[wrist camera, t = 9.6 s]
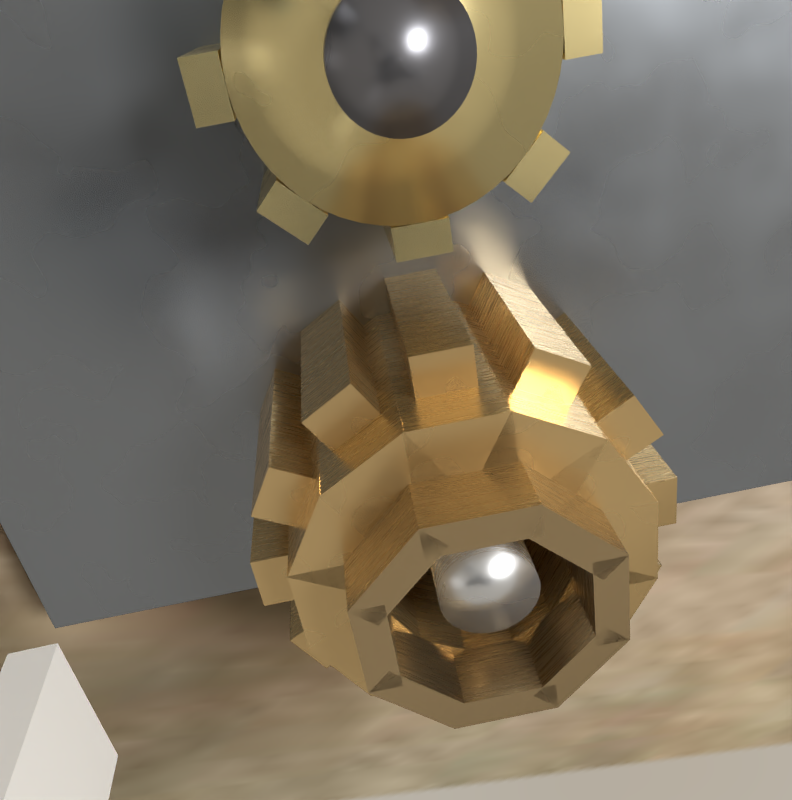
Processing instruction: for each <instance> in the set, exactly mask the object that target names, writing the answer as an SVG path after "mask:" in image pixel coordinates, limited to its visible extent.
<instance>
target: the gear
mask: <svg viewBox="0 0 792 800" xmlns="http://www.w3.org/2000/svg"><path fill="white" fill-rule="evenodd" d="M384 280H385V286H386V291H387V297H388V303H389V308H390V313H388V314H382V315H377V316H374V317H373V318H372V319H371V320H369V321H368V322H367V323H366V324H365V325H362V323H361V322H360V321H359V320H358V319H357V318H356V317H355V316H354V315H353V314H352V313H351V312H350V311H349V309H348V308H347V307H346V306H345V305H344V304H343V303H342V302H341V301H340V300H338V301H337V302H335V303H334V304H333V305H332V306H331V307H329V308H328V309H327V310H326V311H325V312H323V313H322V314H321V315H320V316H319V317H317V318H316V319H315V320H314V321H313V322H311V323H310V324H309V325H308V326H307V327H305V328H304V329H303V330H302V331H301V376H299V375H296V374H292V373H289V372H285V371H282V370H278V369H274V372H273V375H272V378H271V381H270V384H269V387H268V390H267V393H266V396H265V399H264V402H263V405H262V408H261V411H260V422H259V433H258V444H257V455H256V466H255V477H254V488H253V499H252V510H251V517H254V522H253V534H252V546H251V558H250V564H251V567H252V570H253V573H254V576H255V579H256V583H257V586H258V589H259V592H260V595H261V598H262V601H263V604H264V606H267V605H272V604H277V603H282V602H287V601H291V605H290V641H291V642H292V643H294V644H295V645H296V646H298V647H299V648H300V649H302V650H303V651H304V652H306V653H307V654H308V655H310V656H311V657H312V658H314V659H315V660H316V661H318V662H319V663H320V664H322V665H323V666H324V667H326V668H328V667H329V666H332V667H334V668H335V669H336V670H338V671H339V672H340V673H342V674H343V675H344V676H346V677H347V678H348V679H350V680H351V681H352V682H354V683H355V684H356V685H357V686H359V687H360V688H361V689H363V690H364V691H365V692H367V693H368V694H369V695H371V696H377V697H379V698H381V699H384V700H386V701H389V702H391V703H394V704H396V705H398V706H401V707H403V708H406V709H408V710H411V711H413V712H415V713H418V714H420V715H423V716H425V717H428V718H430V719H432V720H435V721H437V722H440V723H442V724H445V725H447V726H449V727H452V728H454V729H456V728H461V727H466V726H471V725H475V724H480V723H485V722H490V721H495V720H500V719H504V718H509V717H514V716H519V715H524V714H529V713H533V712H538V711H543V710H548V709H553V708H558V707H559V706H560V705H561V704H562V703H563V702H564V701H565V700H566V699H568V698H569V697H570V696H571V695H572V694H573V693H574V692H575V691H576V690H577V689H578V688H579V687H580V686H581V685H582V684H583V683H584V682H586V681H587V680H588V679H589V678H590V677H591V676H592V675H593V674H594V673H595V672H596V671H597V670H598V669H599V668H600V667H601V666H603V665H604V664H605V663H606V662H607V661H608V660H609V659H610V658H611V657H612V656H613V655H614V654H615V653H616V652H617V651H618V650H619V649H621V648H622V647H623V646H624V645H625V644H626V643H627V642H628V641H629V640H630V619H631V618H632V616H633V615H634V613H635V612H636V610H637V608H638V607H639V605H640V604H641V602H642V601H643V599H644V598H645V596H646V595H647V593H648V592H649V590H650V589H651V587H652V586H653V584H654V583H655V581H656V580H657V578H658V570H659V569H660V567H661V566H662V565H661V563H660V562H659V560H658V527H659V526H664V525H669V524H674V523H676V507H677V476H676V475H675V474H674V473H673V471H672V470H671V469H670V468H669V466H668V465H667V464H666V462H665V461H664V460H663V459H662V457H661V456H660V455H659V454H658V452H657V451H656V450H655V449H654V447H653V446H652V445H651V443H653V442H654V441H656V440H657V439H659V438H660V437H661V436H663V435H664V434H663V433H662V432H661V430H660V429H659V428H658V426H657V425H656V424H655V422H654V421H653V420H652V418H651V417H650V416H649V414H648V413H647V412H646V410H645V409H644V408H643V406H642V405H641V404H640V402H639V401H638V400H637V398H636V397H635V396H634V394H633V393H632V392H631V391H630V390H629V388H628V387H627V386H626V385H625V384H624V383H623V381H622V380H621V379H620V378H619V377H618V375H617V374H616V373H615V372H614V371H613V369H612V368H611V367H610V366H609V365H608V364H607V362H606V361H605V360H604V359H603V358H602V356H601V355H600V354H599V353H598V352H597V351H596V349H595V348H594V347H593V346H592V345H591V343H590V342H589V341H588V340H587V339H586V337H585V336H584V335H583V334H582V333H581V332H580V330H579V329H578V328H577V327H576V326H575V324H574V323H573V322H572V321H571V320H570V318H569V317H568V316H567V315H566V314H565V313H563V314H562V315H560V316H559V317H558V318H556V319H554V318H553V317H552V315H551V314H550V313H549V312H548V310H547V309H546V308H545V307H544V305H543V304H542V303H541V302H540V300H539V299H538V298H537V297H536V295H535V294H534V293H533V292H532V290H531V289H530V288H529V287H527V286H524V285H521V284H518V283H515V282H512V281H509V280H506V279H504V278H501V277H498V276H495V275H492V274H489V273H486V272H483V274H482V277H481V279H480V281H479V284H478V286H477V288H476V290H475V293H474V295H473V297H472V299H471V302H470V304H469V305H467V304H464V303H461V302H458V301H456V300H454V301H451V299H450V297H449V295H448V293H447V291H446V289H445V287H444V285H443V283H442V281H441V279H440V277H439V275H438V273H437V271H436V269H430V270H425V271H419V272H414V273H409V274H404V275H399V276H393V277H388V278H384ZM519 540H524V542H525V545H526V547H527V550H528V552H529V555H530V557H531V559H532V562H533V564H534V567H535V569H536V571H537V574H538V576H539V579H540V584H541V590H540V596H539V599H538V601H537V603H536V605H535V607H534V608H533V610H532V611H531V612H530V613H529V614H528V615H527V616H526V617H525V618H524V619H522V620H521V621H520V622H518V623H517V624H515V625H513V626H511V627H509V628H507V629H504V630H501V631H497V632H492V633H472V632H467V631H463V630H461V629H458V628H457V627H455V626H453V625H452V624H451V623H449V622H448V621H447V620H446V619H445V617H444V616H443V614H442V612H441V610H440V606H439V602H438V597H437V593H436V589H435V584H434V580H433V576H432V571H431V566H432V565H433V564H434V562H435V561H436V560H437V559H438V558H439V557H440V556H445V555H450V554H455V553H460V552H465V551H470V550H475V549H480V548H485V547H490V546H494V545H499V544H504V543H509V542H514V541H519Z"/></svg>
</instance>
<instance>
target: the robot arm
mask: <svg viewBox="0 0 792 800" xmlns="http://www.w3.org/2000/svg"><path fill="white" fill-rule="evenodd" d="M117 758H118V755H117V753H116V751H115V749H114V747H113V745H112V743H111V742H110V740H109V738H108V736H107V734H106V732H105V730H104V729H103V727H102V725H101V723H100V721H99V719H98V717H97V716H96V714H95V712H94V710H93V708H92V706H91V704H90V703H89V701H88V699H87V697H86V695H85V693H84V691H83V689H82V688H81V686H80V684H79V682H78V680H77V678H76V676H75V675H74V673H73V671H72V669H71V667H70V665H69V663H68V662H67V660H66V658H65V656H64V654H63V652H62V650H61V649H60V647H59V645H58V643H57V644H52V645H47V646H43V647H38V648H33V649H28V650H24V651H19V652H14V653H9V654H8V655H7V657H6V660H5V662H4V664H3V667H2V669H1V672H0V800H108V799H109V795H110V790H111V786H112V781H113V776H114V772H115V767H116V762H117Z"/></svg>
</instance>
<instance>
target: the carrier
mask: <svg viewBox="0 0 792 800" xmlns="http://www.w3.org/2000/svg"><path fill="white" fill-rule="evenodd" d="M430 269H436V271H437V273H438V275H439V277H440V279H441V281H442V283H443V285H444V287H445V289H446V291H447V293H448V295H449V297H450V299H451V301H454V300H456V301H458V302H461V303H464V304H467V305H469V304H470V302H471V299H472V297H473V295H474V293H475V290H476V288H477V286H478V284H479V281H480V279H481V277H482V274H483V272H486V273H489V274H492V275H495V276H498V277H501V278H504V279H506V280H509V281H512V282H515V283H518V284H521V285H524V286H527V287H529V288H530V289H531V290H532V292H533V293H534V294H535V295H536V297H537V298H538V299H539V300H540V302H541V303H542V304H543V305H544V307H545V308H546V309H547V310H548V312H549V313H550V314H551V315H552V317H553V318H554V319H556V318H558V317H559V316H560V315H562V314H563V313H565V314H566V315H567V316H568V317H569V318H570V320H571V321H572V322H573V323H574V324H575V326H576V327H577V328H578V329H579V330H580V332H581V333H582V334H583V335H584V336H585V337H586V339H587V340H588V341H589V342H590V343H591V345H592V346H593V347H594V348H595V349H596V351H597V352H598V353H599V354H600V355H601V356H602V358H603V359H604V360H605V361H606V362H607V364H608V365H609V366H610V367H611V368H612V369H613V371H614V372H615V373H616V374H617V375H618V377H619V378H620V379H621V380H622V381H623V383H624V384H625V385H626V386H627V387H628V388H629V390H630V391H631V392H632V393H633V394H634V396H635V397H636V398H637V400H638V401H639V402H640V404H641V405H642V406H643V408H644V409H645V410H646V412H647V413H648V414H649V416H650V417H651V418H652V420H653V421H654V422H655V424H656V425H657V426H658V428H659V429H660V430H661V432H662V433H663V434H664V435H663V436H661V437H660V438H659V439H657V440H656V441H654V442H653V443H651V445H652V446H653V447H654V449H655V450H656V451H657V452H658V454H659V455H660V456H661V457H662V459H663V460H664V461H665V462H666V464H667V465H668V466H669V468H670V469H671V470H672V471H673V473H674V474H675V475H676V476H677V503H682V502H687V501H691V500H696V499H701V498H706V497H711V496H716V495H721V494H726V493H731V492H736V491H741V490H746V489H751V488H756V487H761V486H766V485H771V484H776V483H781V482H786V481H791V480H792V0H0V523H1V525H2V527H3V529H4V531H5V533H6V535H7V537H8V539H9V540H10V542H11V544H12V546H13V548H14V550H15V552H16V554H17V556H18V558H19V560H20V562H21V564H22V565H23V567H24V569H25V571H26V573H27V575H28V577H29V579H30V581H31V583H32V585H33V587H34V589H35V591H36V592H37V594H38V596H39V598H40V600H41V602H42V604H43V606H44V608H45V610H46V612H47V614H48V616H49V617H50V619H51V621H52V623H53V625H54V627H55V628H58V627H63V626H68V625H73V624H78V623H83V622H88V621H93V620H98V619H103V618H108V617H113V616H118V615H123V614H128V613H133V612H138V611H143V610H148V609H153V608H158V607H163V606H168V605H173V604H178V603H183V602H188V601H193V600H198V599H203V598H208V597H213V596H218V595H223V594H228V593H233V592H238V591H243V590H248V589H253V588H258V586H257V583H256V579H255V576H254V573H253V570H252V567H251V564H250V558H251V546H252V534H253V522H254V517H251V510H252V499H253V488H254V477H255V466H256V455H257V444H258V433H259V422H260V411H261V408H262V405H263V402H264V399H265V396H266V393H267V390H268V387H269V384H270V381H271V378H272V375H273V372H274V369H278V370H282V371H285V372H289V373H292V374H296V375H299V376H301V331H302V330H303V329H304V328H305V327H307V326H308V325H309V324H310V323H311V322H313V321H314V320H315V319H316V318H317V317H319V316H320V315H321V314H322V313H323V312H325V311H326V310H327V309H328V308H329V307H331V306H332V305H333V304H334V303H335V302H337V301H338V300H340V301H341V302H342V303H343V304H344V305H345V306H346V307H347V308H348V309H349V311H350V312H351V313H352V314H353V315H354V316H355V317H356V318H357V319H358V320H359V321H360V322H361V323H362V325H365V324H366V323H367V322H368V321H369V320H371V319H372V318H373V317H374V316H377V315H382V314H388V313H390V308H389V303H388V297H387V291H386V286H385V280H384V278H388V277H393V276H399V275H404V274H409V273H414V272H419V271H425V270H430ZM431 571H432V576H433V580H434V584H435V589H436V593H437V597H438V602H439V606H440V610H441V612H442V614H443V616H444V617H445V619H446V620H447V621H448V622H449V623H451V624H452V625H453V626H455V627H457V628H458V629H461V630H463V631H467V632H472V633H492V632H497V631H501V630H504V629H507V628H509V627H511V626H513V625H515V624H517V623H518V622H520V621H521V620H522V619H524V618H525V617H526V616H527V615H528V614H529V613H530V612H531V611H532V610H533V608H534V607H535V605H536V603H537V601H538V599H539V596H540V590H541V584H540V579H539V576H538V574H537V571H536V569H535V567H534V564H533V562H532V559H531V557H530V555H529V552H528V550H527V547H526V545H525V542H524V540H519V541H514V542H509V543H504V544H499V545H494V546H490V547H485V548H480V549H475V550H470V551H465V552H460V553H455V554H450V555H445V556H440V557H439V558H438V559H437V560H436V561H435V562H434V564H433V565H432V566H431Z"/></svg>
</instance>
